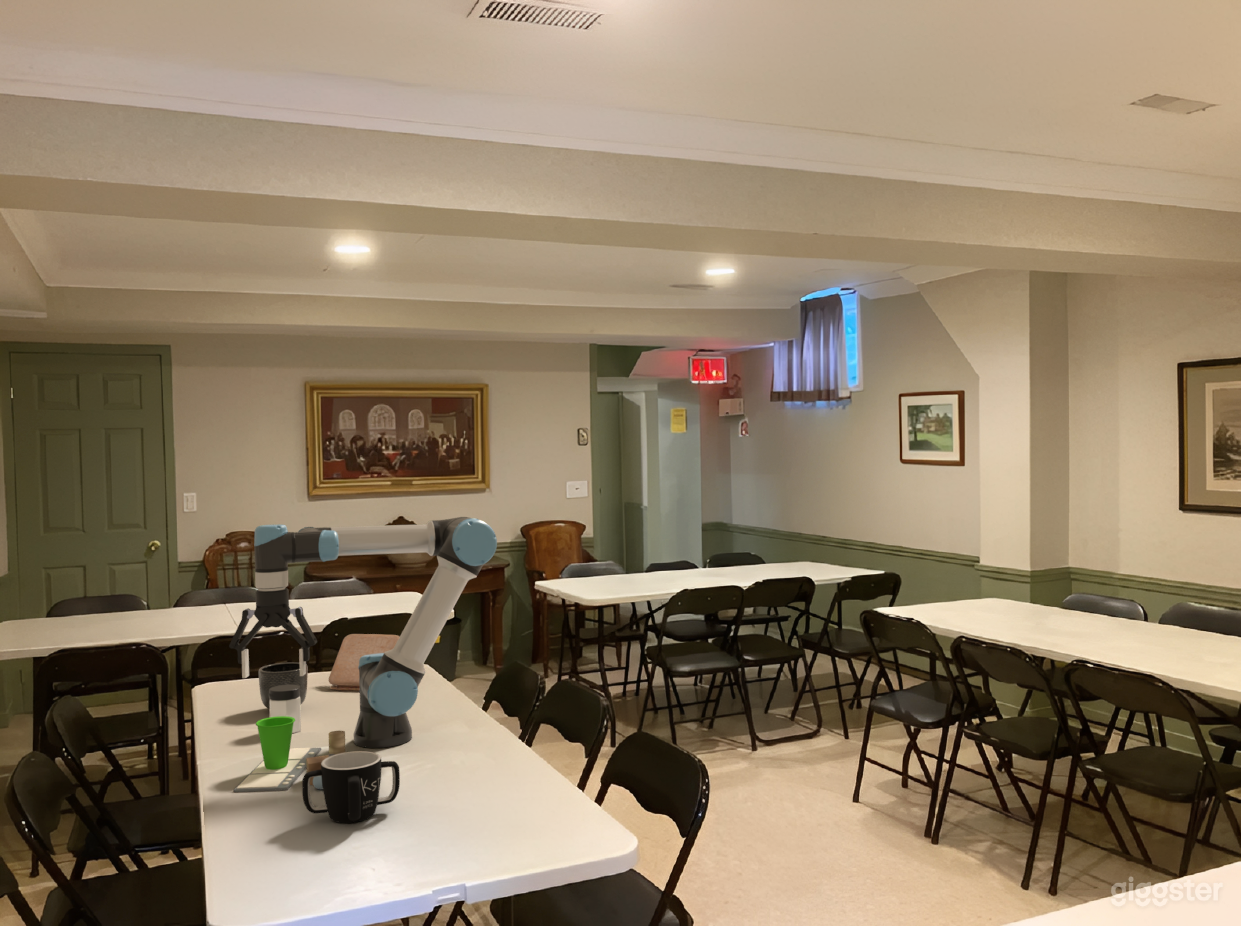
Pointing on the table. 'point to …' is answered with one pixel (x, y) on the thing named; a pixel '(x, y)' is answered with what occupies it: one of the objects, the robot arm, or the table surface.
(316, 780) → the dusty blue ball
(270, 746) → the cup
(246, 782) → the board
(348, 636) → the case
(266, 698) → the planter
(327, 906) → the table surface
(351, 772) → the mug
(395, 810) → the table surface
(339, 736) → the beech cylinder
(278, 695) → the jar
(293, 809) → the table surface
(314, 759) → the walnut block
